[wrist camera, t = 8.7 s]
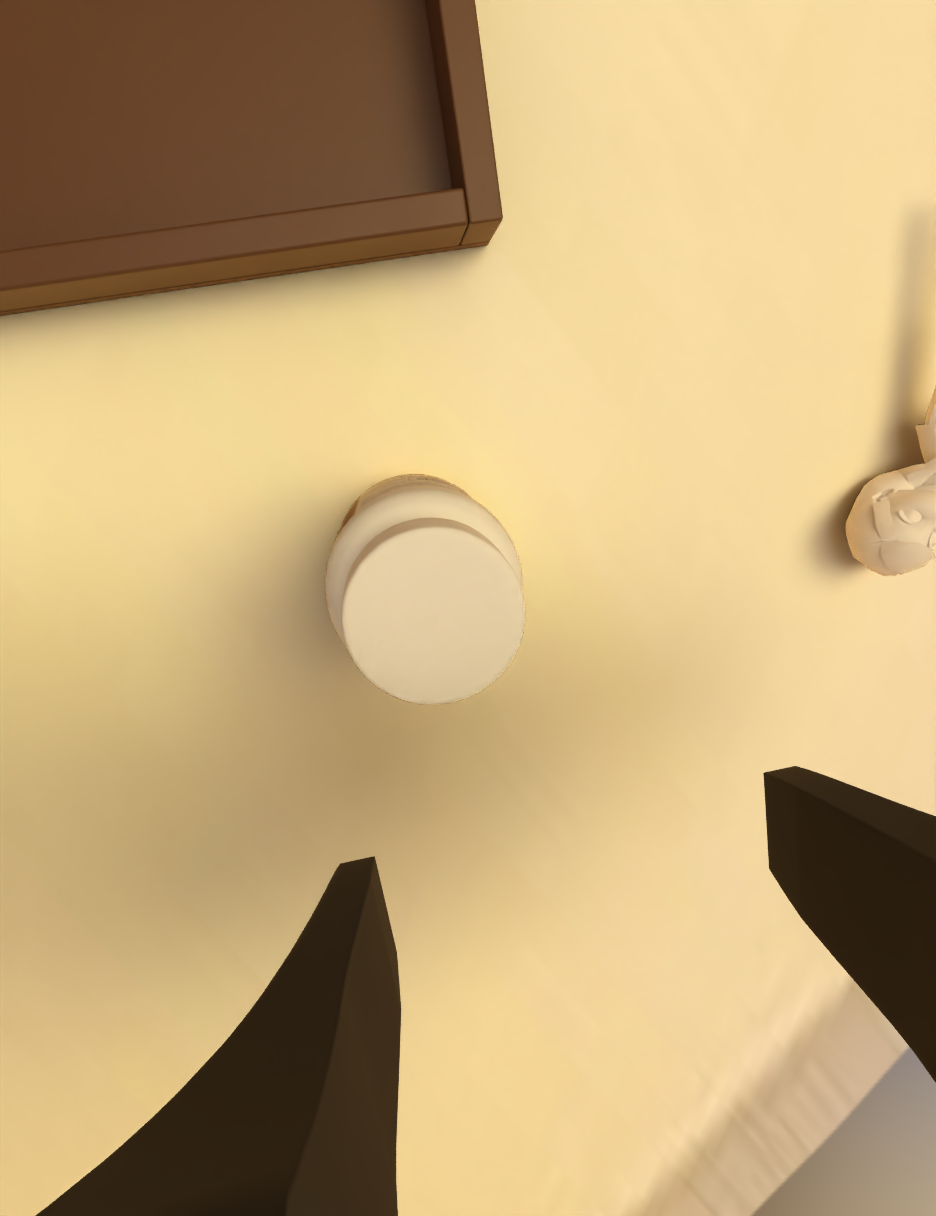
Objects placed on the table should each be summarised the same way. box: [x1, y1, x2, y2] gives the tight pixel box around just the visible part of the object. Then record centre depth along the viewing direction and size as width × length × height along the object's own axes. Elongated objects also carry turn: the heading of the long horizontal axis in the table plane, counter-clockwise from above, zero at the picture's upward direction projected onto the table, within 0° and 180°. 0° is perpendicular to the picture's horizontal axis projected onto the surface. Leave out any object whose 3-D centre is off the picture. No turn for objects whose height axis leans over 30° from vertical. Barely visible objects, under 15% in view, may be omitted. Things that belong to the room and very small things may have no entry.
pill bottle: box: [325, 474, 525, 705], centre depth 17 cm, size 4×4×8 cm
